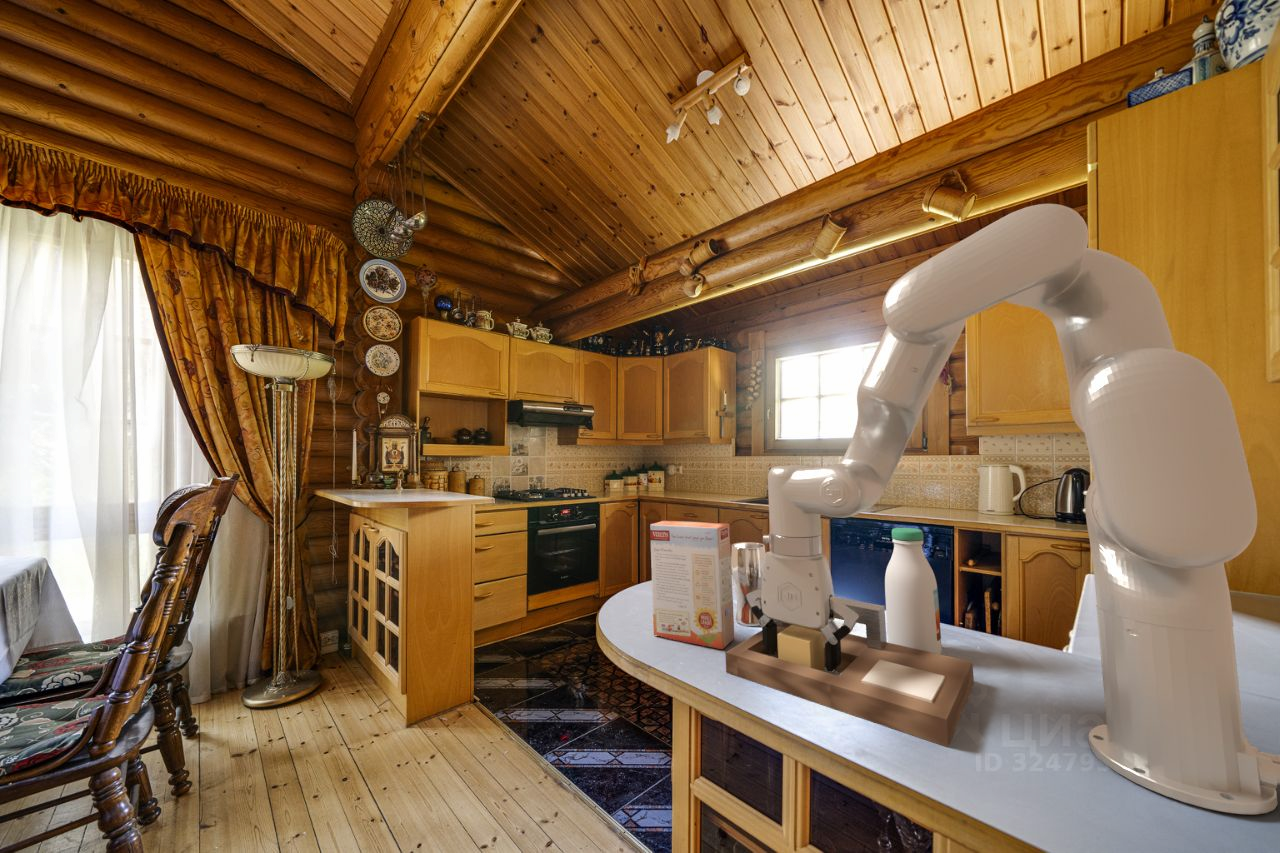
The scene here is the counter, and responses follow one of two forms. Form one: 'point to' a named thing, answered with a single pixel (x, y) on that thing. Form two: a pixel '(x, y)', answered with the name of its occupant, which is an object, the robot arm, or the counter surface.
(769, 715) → the counter surface
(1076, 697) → the counter surface
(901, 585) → the milk bottle
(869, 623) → the gray bridge block
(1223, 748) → the robot arm
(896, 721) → the brown wooden divided tray
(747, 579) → the beer glass
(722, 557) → the cracker box
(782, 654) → the ochre block
